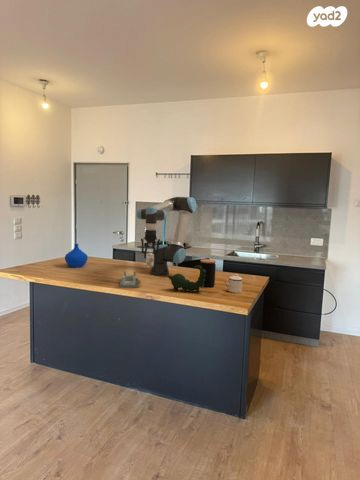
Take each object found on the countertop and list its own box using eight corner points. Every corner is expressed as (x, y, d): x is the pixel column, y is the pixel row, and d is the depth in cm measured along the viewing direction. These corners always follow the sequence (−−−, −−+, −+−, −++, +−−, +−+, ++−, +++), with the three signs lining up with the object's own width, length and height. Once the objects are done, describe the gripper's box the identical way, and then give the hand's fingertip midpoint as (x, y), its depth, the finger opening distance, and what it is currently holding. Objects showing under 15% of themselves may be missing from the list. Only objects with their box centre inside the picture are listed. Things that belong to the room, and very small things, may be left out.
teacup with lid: (243, 290, 223) (244, 273, 222) (240, 293, 215) (241, 276, 214) (225, 288, 228) (226, 271, 226) (222, 291, 219) (223, 274, 218)
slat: (151, 261, 241) (152, 253, 240) (153, 267, 219) (153, 258, 218) (146, 261, 240) (146, 253, 239) (147, 267, 218) (147, 258, 218)
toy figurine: (203, 293, 219) (167, 286, 223) (207, 265, 217) (170, 259, 221) (202, 297, 210) (163, 290, 214) (206, 268, 208) (167, 261, 211)
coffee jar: (205, 283, 240) (206, 258, 238) (217, 286, 233) (218, 260, 231) (196, 285, 231) (197, 260, 229) (208, 288, 225) (210, 262, 223)
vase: (65, 264, 286) (65, 242, 284) (87, 264, 291) (87, 242, 289) (64, 268, 268) (64, 245, 266) (87, 268, 274) (88, 245, 272)
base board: (138, 279, 241) (138, 277, 241) (137, 287, 219) (138, 285, 219) (121, 279, 240) (121, 277, 239) (119, 287, 218) (119, 285, 218)
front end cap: (135, 284, 222) (135, 276, 222) (135, 285, 219) (135, 277, 219) (122, 284, 221) (122, 276, 221) (122, 285, 218) (122, 277, 218)
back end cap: (135, 278, 240) (135, 270, 240) (135, 279, 237) (135, 271, 237) (123, 277, 239) (123, 270, 238) (123, 278, 236) (123, 271, 236)
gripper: (162, 229, 232) (161, 262, 234) (138, 228, 229) (137, 262, 232) (163, 230, 224) (162, 264, 227) (138, 229, 222) (137, 264, 225)
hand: (149, 263), depth 229 cm, fingers closed on slat, 4 cm apart
